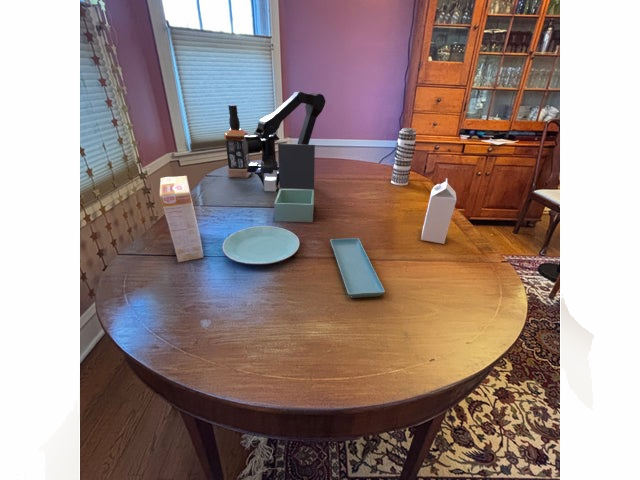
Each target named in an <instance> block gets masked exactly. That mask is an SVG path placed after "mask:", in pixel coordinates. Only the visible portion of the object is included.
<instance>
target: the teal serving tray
mask: <svg viewBox="0 0 640 480" xmlns="http://www.w3.org/2000/svg"><path fill="white" fill-rule="evenodd" d="M329 241H330V245H331V247H332V250H333V253H334V256H335V259H336V261H337V265H338V268H339V272H340V274H341V277H342V281H343V283H344V286H345V289H346V293H347V295H348V297H349V298H350V299H357V298H359V299H360V298H374V297H375V298H377V297H380V296H382V295H383V294H385V293H386V290H385V288H384V286H383V284H382V282H381V280H380V278H379V276H378V274H377V271H376V270H375V268H374V266H373V265H372V261H371V260H370V258H369V256H368V254H367V252H366V250H365V248H364V246H363V244H362V242H361V239H360V238H358V237H352V238H351V237H349V238H331V239H329ZM351 296H352V297H351Z"/></svg>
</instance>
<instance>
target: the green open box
mask: <svg viewBox="0 0 640 480" xmlns="http://www.w3.org/2000/svg"><path fill="white" fill-rule="evenodd" d="M273 207H274V221H275V222H287V223H288V222H289V223H291V222H293V223H313V222H314V208H315V189H303V188H279V190H278V193H277V195H276V198H275V200H274V203H273Z"/></svg>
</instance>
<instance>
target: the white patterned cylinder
mask: <svg viewBox="0 0 640 480" xmlns="http://www.w3.org/2000/svg"><path fill="white" fill-rule="evenodd" d="M398 132H399V134H398V138H397V142H395V151H394V159H395V160H394V164H393V167H392V171H391V172H392V174H391V178H390V180H391V181H390V183H391V184H393V185H396V186H407V185H409V181H410V176H411V170H412V169H411V167H412V161H413V160H414V156H413V155H414V154H415V151H416V149H415V148H414V147H416V146H417V144H416V143H417V141H416V138H417V134H418V132H417V131H416V129H415V128H412V127H403V128H402V129H400V131H398Z"/></svg>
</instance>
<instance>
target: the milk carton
mask: <svg viewBox="0 0 640 480" xmlns="http://www.w3.org/2000/svg"><path fill="white" fill-rule="evenodd" d="M457 200H458V199H457V193H456V191H455V190H454V188H452V186H451V185H450V184H449V183H448V178H447V177H446V178H445V181H444V182H442V183H437V184H435V185H434V186H433V188H432V189H431V190H430V196H429V200H428V204H427V209H426V213H425V217H424V222H423V226H422V231H421V239H420V240H421V241H426V242H431V243H436V244H443V245H444V244H445V243H446V239H447V235H448V232H449V228H450V225H451V221H452V218H453V214H454V211H455V207H456V203H457Z"/></svg>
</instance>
